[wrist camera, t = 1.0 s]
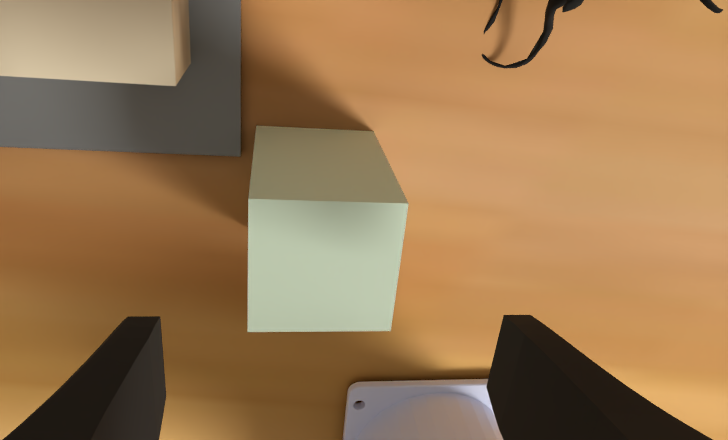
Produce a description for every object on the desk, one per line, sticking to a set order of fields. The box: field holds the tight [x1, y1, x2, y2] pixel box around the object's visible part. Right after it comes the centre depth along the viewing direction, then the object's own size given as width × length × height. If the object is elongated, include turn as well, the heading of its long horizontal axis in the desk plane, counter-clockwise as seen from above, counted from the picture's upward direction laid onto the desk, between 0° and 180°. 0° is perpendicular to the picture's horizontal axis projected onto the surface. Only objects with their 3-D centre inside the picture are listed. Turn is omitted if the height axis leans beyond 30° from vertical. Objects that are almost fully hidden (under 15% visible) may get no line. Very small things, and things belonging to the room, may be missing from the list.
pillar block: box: [248, 125, 408, 332], centre depth 18 cm, size 4×4×6 cm
